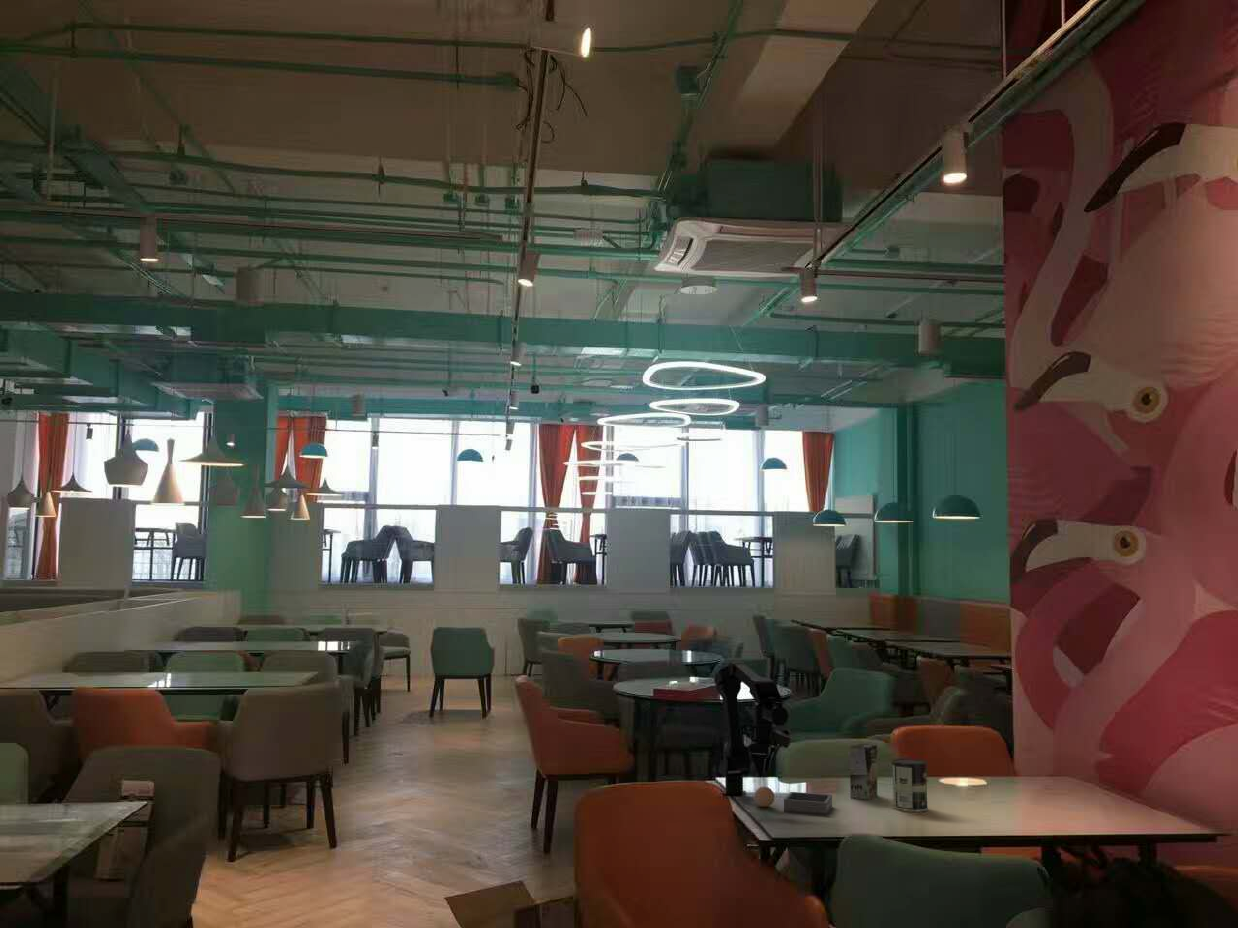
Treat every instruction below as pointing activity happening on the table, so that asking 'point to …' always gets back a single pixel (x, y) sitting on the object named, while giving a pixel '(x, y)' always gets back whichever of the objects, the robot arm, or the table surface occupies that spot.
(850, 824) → the table surface
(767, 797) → the ball
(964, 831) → the table surface
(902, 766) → the coffee can
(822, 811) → the grey open square tray
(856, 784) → the coffee box
